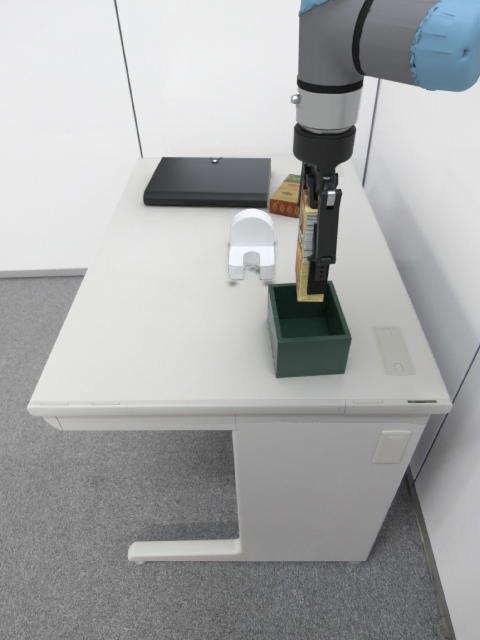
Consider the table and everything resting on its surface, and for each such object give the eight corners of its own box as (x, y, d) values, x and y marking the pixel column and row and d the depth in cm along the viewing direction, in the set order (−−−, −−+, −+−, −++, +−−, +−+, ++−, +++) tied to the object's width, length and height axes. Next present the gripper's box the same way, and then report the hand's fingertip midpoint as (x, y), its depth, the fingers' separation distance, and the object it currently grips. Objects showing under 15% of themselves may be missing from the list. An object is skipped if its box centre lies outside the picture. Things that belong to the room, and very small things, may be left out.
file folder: (271, 156, 130) (267, 196, 113) (270, 169, 133) (266, 210, 116) (162, 155, 133) (141, 194, 116) (164, 168, 136) (144, 208, 119)
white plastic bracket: (272, 234, 107) (273, 192, 99) (274, 279, 94) (275, 235, 86) (233, 234, 107) (231, 193, 100) (229, 279, 94) (226, 236, 87)
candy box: (294, 268, 73) (299, 181, 63) (319, 268, 73) (329, 180, 63) (297, 302, 67) (303, 211, 56) (325, 302, 67) (337, 211, 56)
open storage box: (344, 373, 74) (352, 337, 68) (276, 378, 74) (277, 342, 68) (327, 315, 85) (332, 280, 79) (267, 319, 85) (267, 284, 79)
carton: (268, 213, 114) (268, 197, 111) (288, 186, 125) (288, 172, 122) (299, 218, 112) (299, 203, 109) (316, 191, 122) (318, 176, 119)
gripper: (282, 96, 61) (277, 236, 76) (310, 162, 45) (297, 322, 60) (336, 94, 61) (320, 234, 76) (382, 158, 45) (351, 319, 60)
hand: (310, 272), depth 68 cm, fingers closed on candy box, 9 cm apart
